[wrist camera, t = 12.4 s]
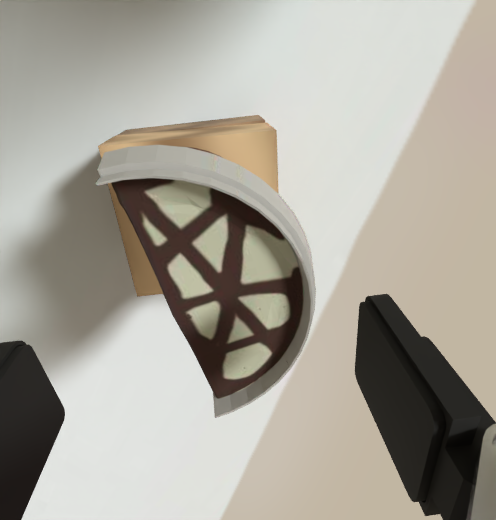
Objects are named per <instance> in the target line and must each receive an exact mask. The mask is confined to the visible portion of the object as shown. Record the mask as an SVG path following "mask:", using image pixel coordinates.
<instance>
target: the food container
mask: <svg viewBox="0 0 496 520" xmlns="http://www.w3.org/2000/svg"><path fill="white" fill-rule="evenodd" d="M97 171H98V172H99V174H100V176H101V177H100V178H99V179H98V181H97V182H96V185H97V186H98V185H103V184H107V183H111V184H112V187H113V189H114V191H115V193H116V195H117V198H118V201H119V203H120V205H121V206H122V208H123V209H124V210H125V212H126V214H127V216H128V218H129V220H130V222H131V224H132V226H133V228H134V230H135V232H136V234H137V236H138V238H139V240H140V243H141V245H142V247H143V249H144V251H145V253H146V255H147V258H148V260H149V262H150V264H151V266H152V269H153V271H154V273H155V275H156V277H157V280H158V282H159V284H160V287H161V289H162V292H163V294H164V296H165V298H166V301H167V303H168V305H169V308H170V310H171V312H172V315H173V317H174V318H175V320H176V322H177V324H178V325H179V327H180V329H181V331H182V332H183V334H184V336H185V337H186V339H187V341H188V343H189V345H190V347H191V348H192V350H193V352H194V354H195V356H196V358H197V360H198V362H199V364H200V366H201V368H202V370H203V372H204V374H205V376H206V378H207V380H208V382H209V384H210V386H211V388H212V390H213V396H214V412H215V418H217V417H220V416H223V415H225V414H228V413H231V412H234V411H236V410H238V409H240V408H242V407H244V406H246V405H248V404H250V403H251V402H253V401H255V400H256V399H258V398H259V397H261V396H262V395H264V394H265V393H266V392H268V391H269V390H270V389H271V388H272V387H274V386H275V385H276V384H277V383H278V382H279V381H280V380H281V379H282V378H283V377H284V376H285V375H286V373H287V372H288V371H289V370H290V369H291V368H292V366H293V364H294V363H295V361H296V360H297V358H298V357H299V355H300V354H301V351H302V349H303V347H304V345H305V342H306V340H307V338H308V334H309V330H310V326H311V322H312V318H313V314H314V310H315V296H316V288H315V280H314V271H313V263H312V256H311V251H310V247H309V244H308V241H307V238H306V235H305V232H304V230H303V229H302V227H301V225H300V223H299V221H298V219H297V217H296V216H295V214H294V212H293V211H292V210H291V209H290V207H289V206H288V205H287V204H286V202H285V201H284V200H283V199H282V197H281V196H280V195H279V194H278V193H277V192H276V191H275V190H273V189H272V188H271V187H270V186H269V185H268V184H267V183H266V182H264V181H263V180H262V179H261V178H259V177H258V176H256V175H255V174H253V173H251V172H250V171H248V170H247V169H245V168H244V167H242V166H240V165H238V164H236V163H234V162H231V161H229V160H227V159H224V158H223V157H221V156H219V155H217V154H214V153H212V152H209V151H206V150H202V149H198V148H192V147H177V146H166V145H148V146H133V147H126V148H122V149H118V150H113V151H109V152H105V153H104V155H103V157H102V159H101V162H100V164H99V167H98V169H97Z"/></svg>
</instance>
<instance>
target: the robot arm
mask: <svg viewBox="0 0 496 520" xmlns="http://www.w3.org/2000/svg"><path fill="white" fill-rule="evenodd" d="M355 375H356V379H357V382H358V384H359V386H360V389H361V391H362V393H363V395H364V398H365V400H366V402H367V404H368V407H369V408H370V411H371V413H372V415H373V418H374V420H375V422H376V424H377V426H378V429H379V431H380V433H381V435H382V438H383V440H384V442H385V444H386V446H387V449H388V451H389V453H390V455H391V458H392V460H393V462H394V464H395V466H396V469H397V471H398V473H399V475H400V478H401V480H402V482H403V484H404V486H405V489H406V491H407V493H408V495H409V497H410V498H411V500H412V501H413V502H419V503H420V506H421V507H422V510H423V512H424V514H425V516H429V515H436V514H441V516H442V518H443V520H496V422H495V421H494V420H493V418H492V417H491V416H490V415H489V413H488V412H487V411H486V410H485V408H484V407H483V406H482V405H481V403H480V402H479V401H478V399H477V398H476V397H475V396H474V395H473V393H472V392H471V391H470V389H469V388H468V387H467V386H466V384H465V383H464V382H463V381H462V379H461V378H460V377H459V376H458V374H457V373H456V372H455V370H454V369H453V368H452V367H451V365H450V364H449V363H448V361H447V360H446V359H445V358H444V356H443V355H442V354H441V353H440V351H439V350H438V349H437V348H436V346H435V345H434V344H433V342H431V341H430V339H429V338H427V337H421V336H420V335H419V334H418V332H417V331H416V329H415V328H414V327H413V325H412V324H411V323H410V322H409V320H408V319H407V318H406V316H405V315H404V314H403V312H402V311H401V310H400V309H399V307H398V306H397V305H396V303H395V302H394V301H393V299H392V298H391V297H390V296H389V295H388V294H382V295H374V296H368V297H366V300H365V302H361V303H360V306H359V320H358V334H357V347H356V362H355ZM64 417H65V410H64V407H63V405H62V403H61V401H60V399H59V397H58V396H57V394H56V392H55V390H54V388H53V386H52V384H51V382H50V380H49V378H48V377H47V375H46V373H45V371H44V369H43V367H42V365H41V363H40V361H39V359H38V358H37V356H36V354H35V352H34V350H33V348H32V347H31V346H30V345H26V343H25V342H23V341H12V342H4V343H0V520H21V519H22V516H23V514H24V512H25V509H26V507H27V505H28V502H29V500H30V498H31V495H32V493H33V491H34V489H35V486H36V484H37V482H38V479H39V477H40V475H41V472H42V470H43V468H44V465H45V463H46V461H47V458H48V456H49V454H50V452H51V449H52V447H53V445H54V442H55V440H56V438H57V435H58V433H59V431H60V428H61V426H62V424H63V421H64Z"/></svg>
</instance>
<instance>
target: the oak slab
mask: <svg viewBox="0 0 496 520" xmlns="http://www.w3.org/2000/svg"><path fill="white" fill-rule="evenodd" d="M148 145H166V146H177V147H192V148H198V149H202V150H206V151H209V152H212V153H214V154H217V155H219V156H221V157H223V158H224V159H227V160H229V161H231V162H234V163H236V164H238V165H240V166H242V167H244V168H245V169H247V170H248V171H250V172H251V173H253V174H255V175H256V176H258V177H259V178H261V179H262V180H263V181H264V182H266V183H267V184H268V185H269V186H270V187H271V188H272V189H273V190H275V191H276V192H277V193H278V167H277V135H276V130H275V129H274V128H273V127H272V126H270V125H269V124H268V123H256V124H244V125H233V126H221V127H209V128H198V129H186V130H175V131H163V132H152V133H140V134H129V135H117V136H114V137H112V138H111V139H109V140H107V141H106V142H104V143H102V144H101V145H99V146H98V148H99V151H100V155H101V159H102V157H103V155H104V153H105V152H109V151H113V150H118V149H122V148H126V147H133V146H148ZM108 186H109V190H110V194H111V197H112V201H113V205H114V209H115V213H116V217H117V220H118V224H119V228H120V232H121V236H122V240H123V244H124V247H125V251H126V255H127V259H128V263H129V267H130V270H131V274H132V278H133V282H134V286H135V290H136V293H137V296H146V295H155V294H163V292H162V289H161V287H160V284H159V282H158V280H157V277H156V275H155V273H154V271H153V269H152V266H151V264H150V262H149V260H148V258H147V255H146V253H145V251H144V249H143V247H142V245H141V243H140V240H139V238H138V236H137V234H136V232H135V230H134V228H133V226H132V224H131V222H130V220H129V218H128V216H127V214H126V212H125V210H124V209H123V208H122V206H121V205H120V203H119V201H118V198H117V195H116V193H115V191H114V189H113V187H112V184H111V183H108Z"/></svg>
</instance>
